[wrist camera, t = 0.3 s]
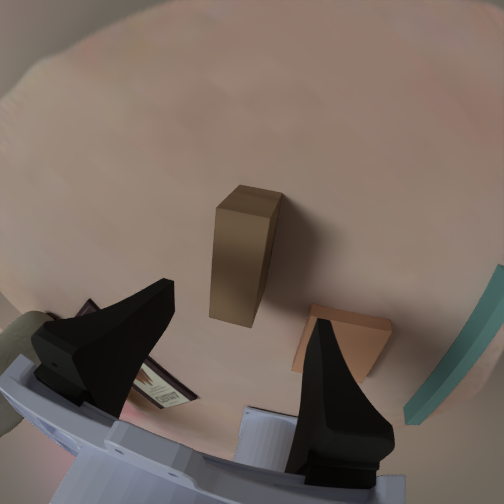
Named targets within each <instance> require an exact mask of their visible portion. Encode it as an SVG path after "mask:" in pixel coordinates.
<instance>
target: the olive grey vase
mask: <svg viewBox="0 0 504 504" xmlns="http://www.w3.org/2000/svg"><path fill="white" fill-rule="evenodd" d="M53 320H54V319H53V318H52V317H50V316H49V315H47V314H45V313H43V312H40V311H29V312H27V313H25V314H23V315H21V316H20V317H18V318H17V319H16V320H14V321H13V322H12V323H11V324H10V325H9V326H8V327H7V328H6V329H5V330H4V331H3V332H2V333H1V334H0V376H1V375H2V374H3V373H4V372H5V371H6V370H7V368H8V367H9V366H10V365H11V364H12V363H13V362H14V360H15V359H16V358H17V357H18V356H19V355H20V354H23V355H24V356H26V357H27V358H29V359H30V360H31V361H33V362H34V363H35V364H36V365H37V366H38V367H39V365H40V364H41V362H40V360H39V358H38V356H37V354H36V352H35V350H34V348H33V346H32V343H31V336H32V335H33V334H34V333H35V332H36V330H37V329H38V328H39V327H40V326H41V325H42V324H43V323H44V322H45V321H53ZM23 419H24V417H23V416H22V415H21V414H20V413H18V412H17V411H16V410H15V409H14V408H13V406H12V405H11V404H10V403H9V401H8V400H7V399H6V398H5V396H4V395H3V394H2V393H1V391H0V437H1V436H3V435H4V434H6V433H8V432H10V431H11V430H12V429H13V428H15V427H16V426H17V425H18V424H19V423H20V422H21V421H22V420H23Z"/></svg>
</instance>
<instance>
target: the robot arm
mask: <svg viewBox="0 0 504 504" xmlns="http://www.w3.org/2000/svg"><path fill="white" fill-rule="evenodd" d="M174 312H175V299H174V281H172V280H169V279H165V278H162V279H161V280H159V281H157V282H155V283H153V284H152V285H150V286H148V287H146V288H145V289H143V290H141V291H139V292H137V293H136V294H134V295H132V296H130V297H128V298H126V299H124V300H122V301H120V302H118V303H116V304H114V305H111V306H109V307H106V308H104V309H101V310H98V311H95V312H92V313H89V314H85V315H82V316H78V317H73V318H68V319H62V320H53V321H45V322H44V323H43V324H42V325H41V326H40V327H39V328H38V329H37V330H36V332H35V333H34V334H33V335H32V336H31V343H32V346H33V348H34V350H35V352H36V354H37V356H38V358H39V360H40V362H41V364H40V365H39V367H38V366H37V365H36V364H35V363H34V362H33V361H31V360H30V359H29V358H27V357H26V356H24V355H23V354H20V355H19V356H18V357H17V358H16V359H15V360H14V362H13V363H12V364H11V365H10V366H9V367H8V368H7V370H6V371H5V372H4V373H3V374H2V375H1V376H0V391H1V393H2V394H3V395H4V396H5V398H6V399H7V400H8V401H9V403H10V404H11V405H12V406H13V408H14V409H15V410H16V411H17V412H18V413H20V414H21V415H22V416H23V417H24V418H26V419H27V420H28V421H29V422H30V423H31V424H33V425H34V426H35V427H36V428H38V429H39V430H40V431H41V432H43V433H44V434H45V435H46V436H48V437H49V438H50V439H52V440H53V441H54V442H56V443H57V444H58V445H60V446H61V447H62V448H64V449H65V450H66V451H68V452H69V453H71V454H72V455H74V456H75V457H76V459H75V460H74V462H73V463H72V465H71V467H70V468H69V470H68V472H67V474H66V475H65V477H64V479H63V480H62V482H61V484H60V485H59V487H58V489H57V491H56V492H55V494H54V496H53V498H52V499H51V501H50V503H49V504H406V476H405V475H381V476H377V477H376V471H377V470H379V464H380V461H381V460H382V459H384V458H385V457H386V456H387V455H389V454H390V453H391V452H392V451H393V449H394V447H395V441H394V440H395V439H394V432H393V427H392V425H391V424H390V423H389V422H388V421H387V420H386V419H385V418H384V417H383V416H382V415H381V414H380V413H379V412H378V411H377V410H376V409H375V408H374V406H373V405H372V404H371V403H370V402H369V400H368V399H367V397H366V396H365V395H364V393H363V392H362V391H361V389H360V387H359V386H358V384H357V383H356V381H355V379H354V377H353V376H352V374H351V372H350V370H349V368H348V366H347V364H346V362H345V359H344V357H343V355H342V352H341V350H340V347H339V345H338V342H337V339H336V336H335V333H334V330H333V327H332V323H331V321H330V320H327V319H322V318H317V320H316V323H315V326H314V329H313V331H312V334H311V337H310V339H309V342H308V344H307V347H306V353H305V358H304V364H303V376H302V390H301V402H300V410H299V415H298V418H297V417H292V416H287V415H282V414H277V413H272V412H268V411H263V410H259V409H255V408H251V407H246V408H245V410H244V414H243V418H242V422H241V427H240V431H239V435H238V437H239V438H240V439H239V442H238V446H237V449H236V452H235V455H234V458H233V461H229V460H225V459H222V458H218V457H215V456H212V455H208V454H205V453H202V452H199V451H196V450H194V449H192V448H190V447H188V446H185V445H183V444H181V443H178V442H175V441H172V440H170V439H167V438H165V437H162V436H160V435H157V434H155V433H152V432H150V431H147V430H145V429H143V428H140V427H138V426H136V425H134V424H132V423H129V422H126V421H123V420H119V417H120V414H121V411H122V408H123V406H124V403H125V401H126V398H127V396H128V394H129V391H130V389H131V387H132V385H133V383H134V380H135V378H136V376H137V374H138V372H139V370H140V368H141V366H142V364H143V363H144V361H145V359H146V358H147V356H148V355H149V353H150V352H151V350H152V349H153V347H154V346H155V345H156V343H157V342H158V340H159V339H160V337H161V336H162V334H163V333H164V331H165V330H166V328H167V327H168V325H169V323H170V321H171V319H172V317H173V315H174Z"/></svg>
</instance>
